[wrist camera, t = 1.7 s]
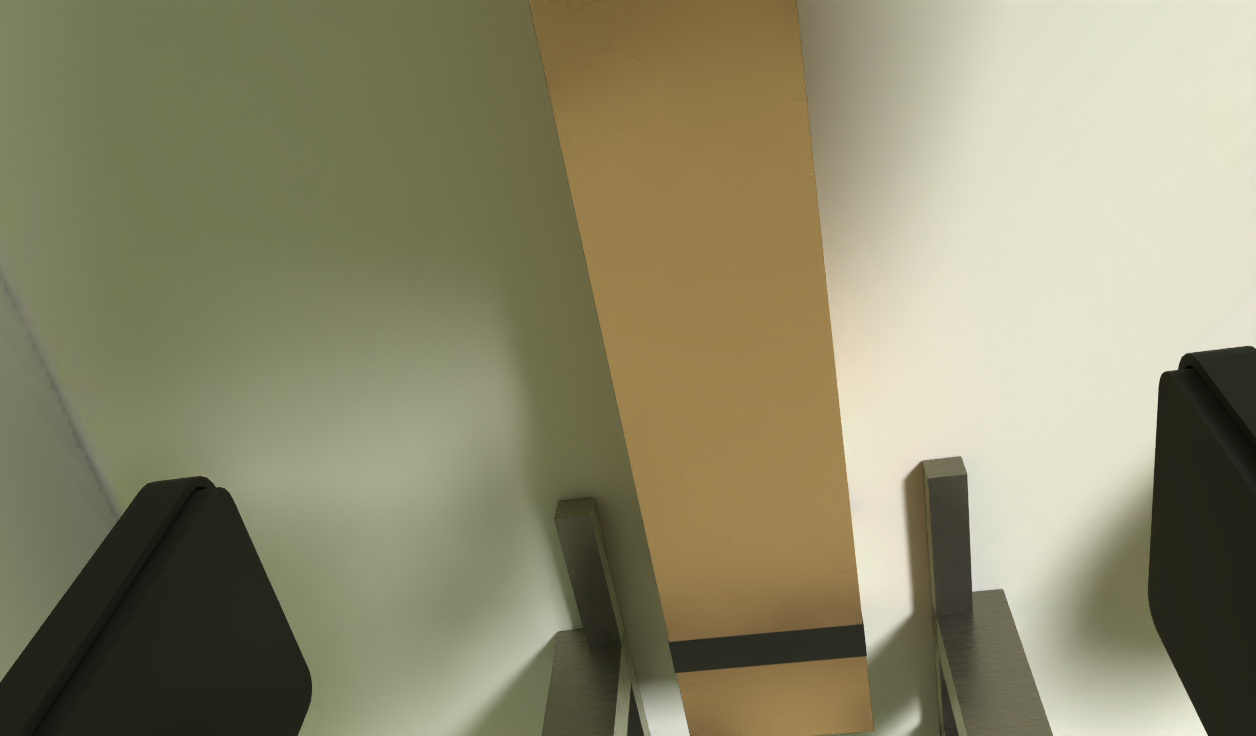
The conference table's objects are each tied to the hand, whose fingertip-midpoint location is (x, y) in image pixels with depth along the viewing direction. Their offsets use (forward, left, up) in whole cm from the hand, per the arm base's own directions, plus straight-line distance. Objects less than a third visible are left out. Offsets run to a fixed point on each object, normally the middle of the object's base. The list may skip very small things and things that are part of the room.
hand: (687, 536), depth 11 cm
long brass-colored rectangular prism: (+5, 0, -16) cm, 17 cm away
